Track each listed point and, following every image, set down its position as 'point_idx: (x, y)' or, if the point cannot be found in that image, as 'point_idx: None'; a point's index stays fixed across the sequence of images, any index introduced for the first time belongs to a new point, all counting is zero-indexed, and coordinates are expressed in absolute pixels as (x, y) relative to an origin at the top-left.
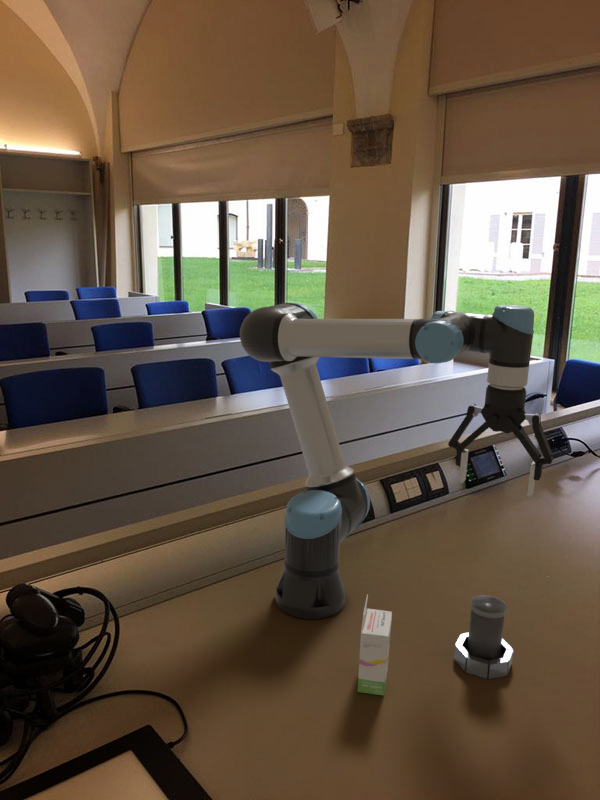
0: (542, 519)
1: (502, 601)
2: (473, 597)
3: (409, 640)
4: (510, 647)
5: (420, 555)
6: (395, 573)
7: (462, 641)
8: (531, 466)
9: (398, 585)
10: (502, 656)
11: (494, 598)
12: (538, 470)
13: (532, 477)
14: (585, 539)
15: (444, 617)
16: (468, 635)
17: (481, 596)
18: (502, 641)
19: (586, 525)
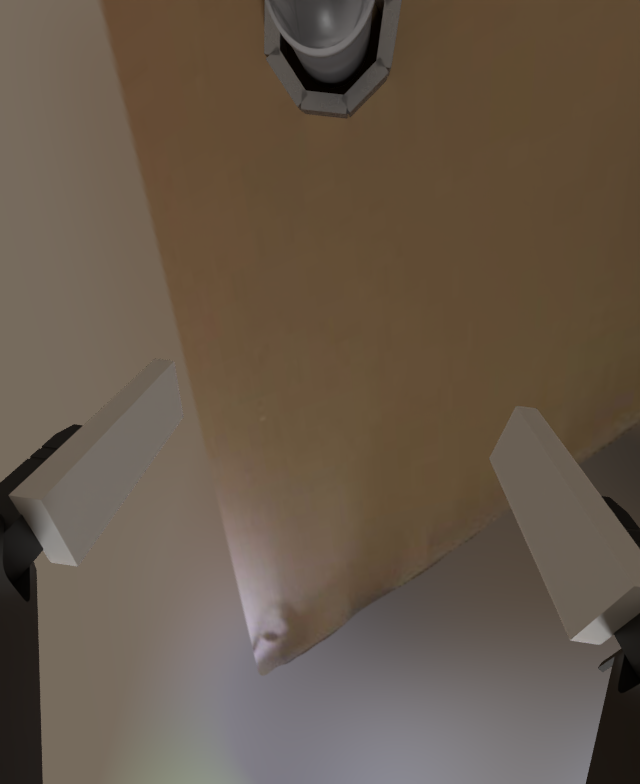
0: (292, 553)
1: (280, 28)
2: (372, 3)
3: (509, 46)
4: (272, 63)
5: (473, 416)
6: (526, 339)
7: (384, 27)
8: (44, 487)
9: (522, 296)
10: (292, 69)
11: (306, 37)
12: (28, 474)
13: (90, 425)
14: (232, 522)
15: (424, 205)
16: (371, 73)
17: (347, 29)
18: (292, 85)
19: (238, 551)
